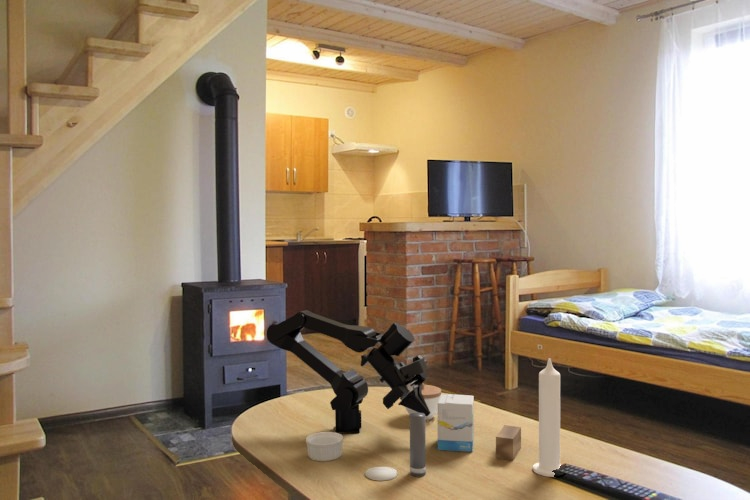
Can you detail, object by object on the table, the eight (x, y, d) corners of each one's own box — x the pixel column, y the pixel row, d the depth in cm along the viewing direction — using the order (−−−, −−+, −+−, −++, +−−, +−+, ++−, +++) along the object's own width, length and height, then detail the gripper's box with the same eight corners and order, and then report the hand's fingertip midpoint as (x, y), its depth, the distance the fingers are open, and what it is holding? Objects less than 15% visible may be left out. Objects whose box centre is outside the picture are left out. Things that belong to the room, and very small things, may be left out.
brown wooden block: (496, 457, 146) (495, 436, 146) (504, 445, 155) (504, 425, 154) (513, 460, 145) (513, 439, 144) (521, 447, 153) (521, 427, 153)
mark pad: (365, 481, 134) (365, 479, 134) (365, 468, 141) (365, 466, 141) (398, 480, 134) (398, 479, 134) (396, 467, 141) (396, 466, 141)
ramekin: (309, 464, 144) (309, 445, 144) (303, 451, 152) (303, 433, 152) (347, 460, 146) (347, 441, 146) (339, 447, 155) (339, 429, 155)
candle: (566, 466, 141) (567, 355, 140) (565, 479, 134) (565, 362, 133) (534, 463, 143) (534, 354, 142) (531, 475, 136) (531, 360, 135)
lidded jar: (448, 414, 179) (447, 382, 179) (430, 425, 170) (430, 390, 170) (415, 409, 185) (414, 377, 185) (396, 418, 176) (396, 385, 176)
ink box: (472, 452, 150) (472, 404, 149) (437, 450, 152) (436, 402, 151) (474, 440, 158) (474, 394, 158) (440, 438, 160) (440, 393, 160)
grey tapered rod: (410, 476, 136) (410, 417, 135) (409, 470, 139) (408, 412, 139) (426, 476, 136) (426, 417, 136) (425, 470, 140) (424, 412, 139)
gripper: (393, 354, 151) (438, 404, 147) (420, 340, 168) (461, 385, 164) (364, 383, 154) (407, 433, 150) (394, 367, 171) (433, 412, 167)
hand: (428, 414), depth 158 cm, fingers closed
